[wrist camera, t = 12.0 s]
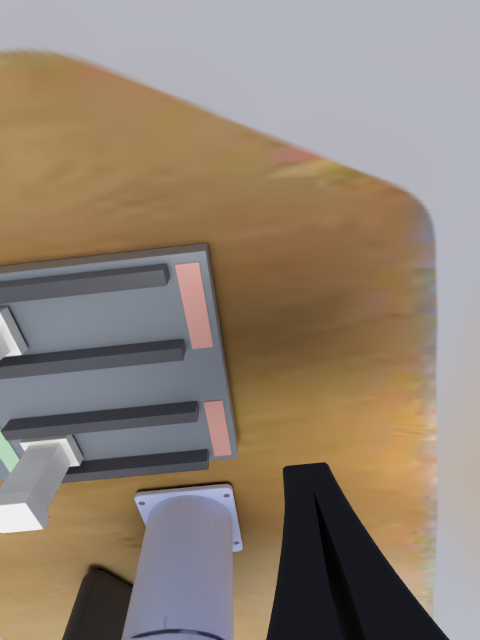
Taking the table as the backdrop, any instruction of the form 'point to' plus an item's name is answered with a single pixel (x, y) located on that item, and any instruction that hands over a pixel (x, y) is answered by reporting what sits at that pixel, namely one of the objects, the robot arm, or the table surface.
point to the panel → (118, 363)
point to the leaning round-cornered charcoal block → (99, 608)
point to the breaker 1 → (10, 335)
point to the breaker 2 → (36, 482)
